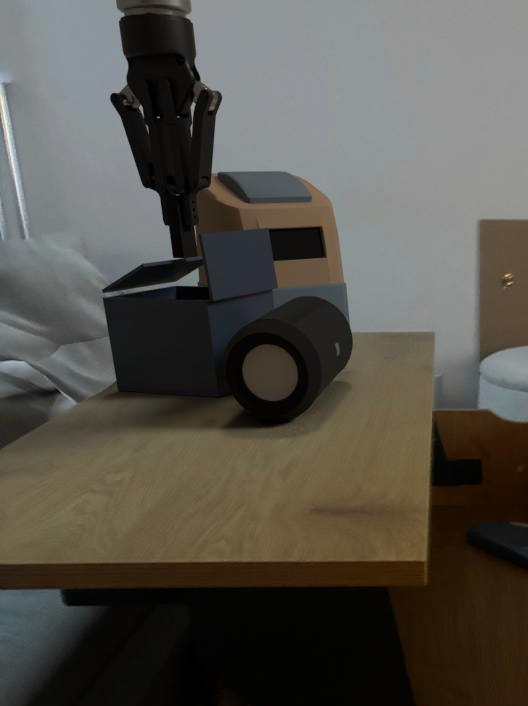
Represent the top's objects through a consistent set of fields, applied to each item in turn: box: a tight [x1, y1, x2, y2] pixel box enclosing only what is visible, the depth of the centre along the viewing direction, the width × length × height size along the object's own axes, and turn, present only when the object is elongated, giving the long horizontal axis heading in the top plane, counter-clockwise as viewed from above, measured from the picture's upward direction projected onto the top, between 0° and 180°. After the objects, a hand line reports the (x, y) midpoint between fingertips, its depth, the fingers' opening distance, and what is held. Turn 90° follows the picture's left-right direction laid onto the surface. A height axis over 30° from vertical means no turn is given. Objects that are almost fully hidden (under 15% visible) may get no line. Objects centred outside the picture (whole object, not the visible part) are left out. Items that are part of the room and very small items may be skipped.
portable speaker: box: [223, 296, 354, 422], centre depth 107 cm, size 26×10×10 cm, turn 178°
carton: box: [102, 228, 278, 398], centre depth 116 cm, size 15×14×17 cm
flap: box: [101, 256, 204, 294], centre depth 115 cm, size 7×14×1 cm, turn 161°
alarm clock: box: [194, 170, 351, 327], centre depth 132 cm, size 17×17×23 cm
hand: (185, 257), depth 113 cm, fingers closed
